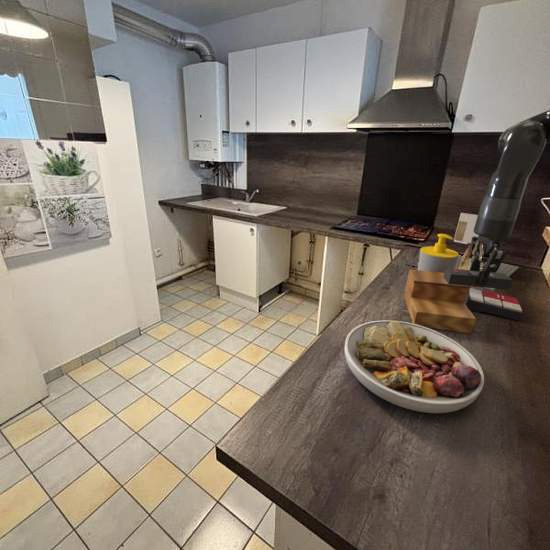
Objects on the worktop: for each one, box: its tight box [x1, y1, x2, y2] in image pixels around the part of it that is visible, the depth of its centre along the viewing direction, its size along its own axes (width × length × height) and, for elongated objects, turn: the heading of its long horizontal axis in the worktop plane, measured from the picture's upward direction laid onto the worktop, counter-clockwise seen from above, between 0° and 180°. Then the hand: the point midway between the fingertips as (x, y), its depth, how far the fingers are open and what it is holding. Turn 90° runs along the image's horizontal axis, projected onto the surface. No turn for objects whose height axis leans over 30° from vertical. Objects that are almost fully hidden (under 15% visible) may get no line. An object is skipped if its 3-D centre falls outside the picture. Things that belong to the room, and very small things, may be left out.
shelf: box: [403, 269, 477, 334], centre depth 95 cm, size 16×20×11 cm
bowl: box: [344, 319, 485, 414], centre depth 70 cm, size 30×30×8 cm
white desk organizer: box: [453, 212, 520, 291], centre depth 133 cm, size 10×16×29 cm, turn 130°
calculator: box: [465, 287, 524, 322], centre depth 100 cm, size 11×4×15 cm
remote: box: [443, 268, 514, 291], centre depth 76 cm, size 14×5×3 cm, turn 77°
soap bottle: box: [416, 233, 459, 273], centre depth 112 cm, size 13×13×21 cm
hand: (476, 280), depth 76 cm, fingers closed on remote, 4 cm apart
